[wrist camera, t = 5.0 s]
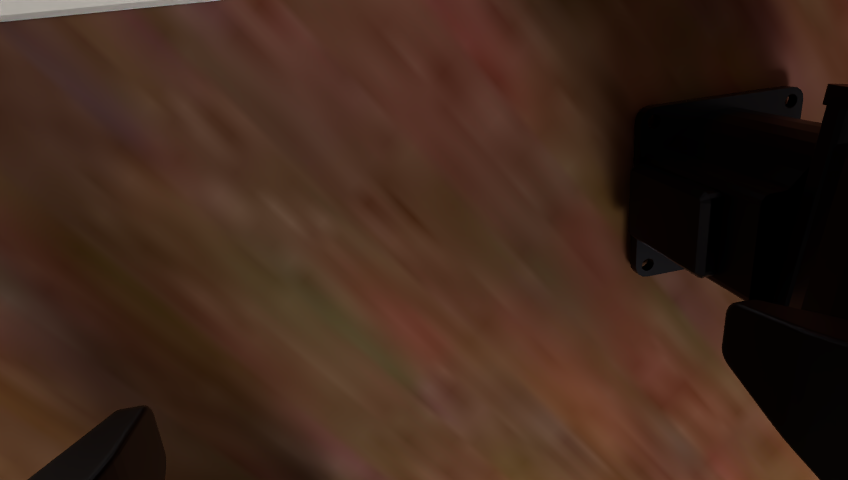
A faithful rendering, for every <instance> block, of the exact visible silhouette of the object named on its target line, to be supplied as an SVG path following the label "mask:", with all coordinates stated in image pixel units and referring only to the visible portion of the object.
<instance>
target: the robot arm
mask: <svg viewBox="0 0 848 480" xmlns="http://www.w3.org/2000/svg"><path fill="white" fill-rule="evenodd" d="M788 96H789V100H788V103H787V104H786V105H785V101H786V98H787V97H788ZM802 104H803V93H802V91H801V90H800V89H799V88H798V87H790V86H781V87H774V88H767V89H760V90H753V91H746V92H739V93H732V94H726V95H719V96H712V97H705V98H698V99H691V100H684V101H677V102H670V103H663V104H656V105H649V106H646V107H643V108H642V109H641V110H640V111H639V112H638V114H637V116H636V120H635V139H634V167H633V168H632V170H631V176H630V207H629V233H630V234H631V258H630V264H631V268H632V269H633V271H635V272H636V273H638V274H639V275H641V276H652V275H657V274H662V273H667V272H672V271H677V270H682V269H686V270H687V271H689V272H690V273H692V274H694V275H695V276H697V277H699V278H704V277H706V278H708V279H710V280H711V281H713V282H715V283H716V284H718V285H720V286H721V287H723V288H725V289H726V290H728V291H730V292H731V293H733V294H734V295H736V296H738V297H739V298H741V299H743V300H744V301H741V302H736V303H733V304H731V305H730V306H729V307H728V309H727V312H726V318H725V326H724V334H723V342H722V353H723V356H724V359H725V361H726V363H727V364H728V366H729V367H730V368H731V370H732V371H733V372H734V374H735V375H736V376H737V378H738V379H739V380H740V382H741V383H742V384H743V386H744V387H745V388H746V390H747V391H748V392H749V394H750V395H751V396H752V398H753V399H754V400H755V402H756V403H757V404H758V406H759V407H760V408H761V410H762V411H763V412H764V414H765V415H766V417H767V418H768V419H769V421H770V422H771V423H772V425H773V426H774V427H775V428H776V430H777V431H778V432H779V434H780V435H781V436H782V437H783V439H784V440H785V441H786V442H787V443H788V444H789V446H790V447H791V448H792V449H793V450H794V451H795V453H796V454H797V455H798V456H799V457H800V458H801V459H802V460H803V461H804V463H805V464H806V465H807V466H808V467H809V468H810V469H811V470H812V471H813V473H814V474H815V475H816V476H817V477H818V478H819V479H820V480H848V84H828V86H827V89H826V93H825V97H824V100H823V104H824V105H827V106H826V110H825V113H824V117H823V121H822V123H818V122H812V121H807V120H802V119H800V118H801V111H802ZM651 115H654V123H653V124H652V125H651V126H648V119H649V118H650V117H651ZM646 259H648V262H647V264H646V265H645V266H642V263H643V262H644V260H646ZM165 472H166V456H165V451H164V447H163V444H162V441H161V437H160V434H159V431H158V427H157V424H156V421H155V417H154V414H153V412H152V410H151V409H150V408H149V407H148V406H138V407H132V408H126V409H120V410H118V411H116V412H114V413H113V414H112V415H110V416H109V417H108V418H106V419H105V420H104V421H103V422H101V423H100V424H99V425H97V426H96V427H95V428H94V429H92V430H91V431H90V432H88V433H87V434H86V435H85V436H83V437H82V438H81V439H79V440H78V441H77V442H76V443H74V444H73V445H72V446H70V447H69V448H68V449H67V450H65V451H64V452H63V453H61V454H60V455H59V456H57V457H56V458H55V459H54V460H52V461H51V462H50V463H48V464H47V465H46V466H45V467H43V468H42V469H41V470H39V471H38V472H37V473H36V474H34V475H33V476H32V477H30V478H29V479H28V480H165Z"/></svg>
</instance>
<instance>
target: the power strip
mask: <svg viewBox="0 0 848 480" xmlns="http://www.w3.org/2000/svg"><path fill="white" fill-rule="evenodd" d="M208 1H218V0H0V22H6V21H16V20H26V19H36V18H46V17H56V16H66V15H77V14H87V13H97V12H107V11H117V10H127V9H137V8H147V7H157V6H167V5H178V4H188V3H198V2H208Z"/></svg>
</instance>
